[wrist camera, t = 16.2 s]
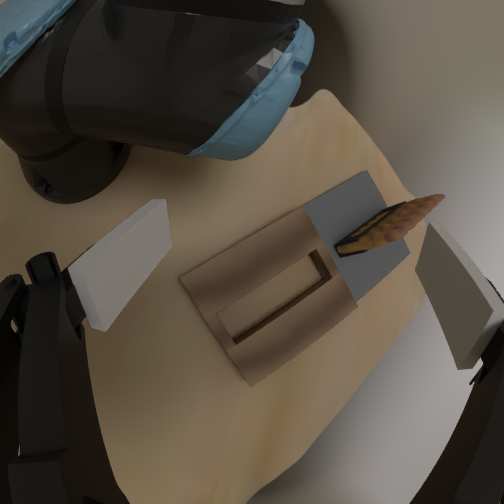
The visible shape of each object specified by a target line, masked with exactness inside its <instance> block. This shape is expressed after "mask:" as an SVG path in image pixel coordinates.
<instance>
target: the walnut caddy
mask: <svg viewBox="0 0 504 504" xmlns="http://www.w3.org/2000/svg"><path fill="white" fill-rule="evenodd" d="M307 254H309V255H310V257H311V259H312V261H313V262H314V264H315V266H316V268H317V269H318V271H319V273H320V275H321V277H322V278H323V279H321V280H320V281H319V282H317V283H316V284H315V285H313V286H312V287H310V288H309V289H308V290H306V291H305V292H303V293H302V294H301V295H299V296H298V297H296V298H295V299H293V300H292V301H291V302H289V303H288V304H286V305H285V306H283V307H282V308H281V309H279V310H278V311H276V312H275V313H273V314H272V315H270V316H269V317H267V318H266V319H264V320H263V321H261V322H260V323H258V324H257V325H255V326H254V327H252V328H251V329H249V330H248V331H246V332H245V333H243V334H242V335H240V336H239V337H237V338H235V339H234V340H232V338H231V337H230V335H229V334H228V332H227V331H226V329H225V328H224V326H223V324H222V323H221V321H220V320H219V318H218V317H217V315H216V313H218V312H219V311H221V310H222V309H224V308H226V307H227V306H229V305H230V304H232V303H233V302H235V301H237V300H238V299H240V298H241V297H243V296H244V295H246V294H248V293H249V292H251V291H252V290H254V289H255V288H257V287H259V286H260V285H262V284H263V283H265V282H266V281H268V280H269V279H271V278H272V277H274V276H275V275H277V274H279V273H280V272H282V271H283V270H285V269H286V268H288V267H289V266H291V265H292V264H294V263H295V262H297V261H298V260H300V259H301V258H303V257H304V256H306V255H307ZM180 280H181V282H182V284H183V285H184V287H185V289H186V290H187V292H188V294H189V295H190V297H191V299H192V300H193V302H194V303H195V305H196V307H197V308H198V310H199V311H200V313H201V315H202V316H203V318H204V319H205V321H206V323H207V324H208V326H209V327H210V329H211V330H212V332H213V333H214V335H215V336H216V338H217V339H218V341H219V343H220V344H221V346H222V347H223V349H224V350H225V352H226V353H227V354H228V356H229V357H230V359H231V360H232V362H233V363H234V365H235V366H236V368H237V369H238V371H239V372H240V373H241V375H242V376H243V378H244V379H245V380H246V382H247V383H248V384H249V386H250V387H251V386H253V385H254V384H256V383H257V382H259V381H260V380H262V379H263V378H265V377H266V376H268V375H269V374H271V373H272V372H274V371H275V370H277V369H278V368H279V367H281V366H282V365H284V364H285V363H286V362H288V361H289V360H291V359H292V358H293V357H295V356H296V355H298V354H299V353H300V352H302V351H303V350H304V349H306V348H307V347H308V346H310V345H311V344H312V343H314V342H315V341H316V340H317V339H319V338H320V337H321V336H323V335H324V334H325V333H326V332H328V331H329V330H330V329H331V328H333V327H334V326H335V325H336V324H338V323H339V322H340V321H341V320H343V319H344V318H345V317H346V316H347V315H349V314H350V313H351V312H352V311H353V310H355V309H356V308H357V307H358V306H357V304H356V302H355V300H354V298H353V296H352V294H351V292H350V290H349V288H348V286H347V284H346V282H345V281H344V279H343V277H342V275H341V273H340V271H339V269H338V267H337V266H336V264H335V262H334V260H333V258H332V256H331V255H330V253H329V251H328V249H327V247H326V246H325V244H324V242H323V240H322V239H321V237H320V235H319V233H318V231H317V230H316V228H315V226H314V225H313V223H312V221H311V219H310V218H309V216H308V214H307V213H306V211H305V209H304V207H303V206H302V207H300V208H298V209H297V210H295V211H293V212H291V213H290V214H288V215H286V216H284V217H283V218H281V219H279V220H277V221H276V222H274V223H272V224H271V225H269V226H267V227H265V228H264V229H262V230H260V231H259V232H257V233H255V234H253V235H252V236H250V237H248V238H247V239H245V240H243V241H241V242H240V243H238V244H236V245H235V246H233V247H231V248H229V249H228V250H226V251H224V252H223V253H221V254H219V255H218V256H216V257H214V258H213V259H211V260H209V261H207V262H206V263H204V264H202V265H201V266H199V267H197V268H196V269H194V270H192V271H191V272H189V273H187V274H186V275H184V276H182V277H181V278H180Z"/></svg>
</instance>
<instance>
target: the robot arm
mask: <svg viewBox="0 0 504 504" xmlns="http://www.w3.org/2000/svg"><path fill="white" fill-rule="evenodd" d="M304 2H305V0H6V1H5V2H3V3H2V4H1V5H0V138H1V139H2V140H3V141H4V142H5V143H6V144H7V145H8V146H9V147H10V148H11V149H12V150H13V151H15V152H16V153H17V155H18V158H19V162H20V165H21V168H22V171H23V173H24V176H25V178H26V180H27V182H28V184H29V185H30V186H31V187H32V189H33V190H34V191H36V192H37V193H38V194H40V195H41V196H42V197H44V198H45V199H47V200H49V201H52V202H55V203H62V204H68V203H76V202H80V201H83V200H85V199H88V198H90V197H92V196H94V195H96V194H97V193H99V192H100V191H102V190H103V189H104V188H105V187H107V186H108V185H109V184H110V183H111V182H112V181H113V180H114V179H115V178H116V176H117V175H118V174H119V172H120V171H121V169H122V168H123V166H124V165H125V163H126V161H127V158H128V156H129V153H130V150H131V145H132V144H134V145H139V146H145V147H150V148H156V149H161V150H166V151H171V152H176V153H181V154H183V155H184V156H187V157H188V156H190V157H194V156H197V155H198V156H204V157H210V158H216V159H221V160H227V161H231V160H238V159H242V158H245V157H247V156H249V155H250V154H252V153H253V152H255V151H256V150H257V149H258V148H259V147H260V146H261V145H262V144H263V143H264V142H265V141H266V140H267V139H268V137H269V136H270V135H271V134H272V132H273V131H274V129H275V128H276V127H277V125H278V124H279V122H280V121H281V119H282V117H283V116H284V114H285V113H286V111H287V109H288V107H289V106H290V104H291V102H292V100H293V99H294V97H295V95H296V93H297V91H298V89H299V86H300V83H301V80H300V76H301V74H303V72H304V71H305V69H306V67H307V66H308V64H309V61H310V59H311V55H312V52H313V46H314V34H313V32H312V30H311V28H310V27H309V26H308V25H306V23H305V22H304V21H303V20H301V19H297V17H298V15H299V12H300V10H301V8H302V6H303V4H304ZM171 248H172V244H171V236H170V229H169V221H168V213H167V204H166V199H152V200H151V201H149V202H148V203H147V204H145V205H144V206H143V207H141V208H140V209H139V210H137V211H136V212H135V213H133V214H132V215H131V216H129V217H128V218H127V219H125V220H124V221H123V222H122V223H120V224H119V225H118V226H117V227H115V228H114V229H113V230H112V231H110V232H109V233H108V234H107V235H105V236H104V237H103V238H102V239H101V240H99V241H98V242H97V243H96V244H94V245H92V246H91V247H89V248H88V249H87V250H86V251H85V253H82V254H81V255H80V256H79V258H77V259H75V260H74V261H73V262H72V263H71V264H70V265H69V266H68V267H66V268H65V269H64V270H63V271H62V272H61V271H60V268H59V265H58V262H57V259H56V256H55V254H54V253H53V252H44V253H40V254H38V255H36V256H34V257H32V258H31V259H30V260H29V261H28V262H27V263H26V265H25V267H26V269H27V272H28V274H29V277H30V279H31V282H32V284H30V285H26V284H25V282H24V280H23V277H22V275H20V274H14V275H9V277H8V276H7V277H6V278H5V279H4V280H3V281H2V282H1V283H0V504H130V503H129V501H128V499H127V498H126V496H125V495H124V494H123V492H122V491H121V490H120V488H119V487H118V485H117V483H116V480H115V477H114V475H113V472H112V468H111V465H110V462H109V459H108V456H107V452H106V449H105V445H104V441H103V438H102V434H101V430H100V426H99V421H98V417H97V412H96V408H95V403H94V398H93V392H92V386H91V380H90V374H89V367H88V360H87V351H86V342H85V331H84V327H83V325H82V323H81V322H82V321H83V319H84V318H85V317H87V319H88V322H89V324H90V326H91V328H94V329H97V330H100V331H104V332H106V331H107V330H108V329H109V327H110V326H111V325H112V323H113V322H114V321H115V319H116V318H117V317H118V315H119V314H120V313H121V311H122V310H123V309H124V307H125V306H126V305H127V303H128V302H129V301H130V299H131V298H132V297H133V296H134V294H135V293H136V292H137V290H138V289H139V288H140V287H141V285H142V284H143V283H144V281H145V280H146V279H147V278H148V276H149V275H150V274H151V273H152V271H153V270H154V269H155V268H156V267H157V265H158V264H159V263H160V262H161V260H162V259H163V258H164V257H165V256H166V254H167V253H168V252H169V251H170V250H171ZM415 271H416V273H417V275H418V277H419V279H420V281H421V283H422V285H423V287H424V289H425V292H426V294H427V296H428V298H429V300H430V302H431V304H432V307H433V309H434V311H435V313H436V316H437V318H438V320H439V323H440V325H441V327H442V329H443V332H444V335H445V337H446V340H447V342H448V345H449V347H450V350H451V352H452V355H453V358H454V361H455V364H456V366H457V369H458V370H462V369H471V368H473V367H474V366H475V364H476V363H477V361H478V360H479V358H480V357H481V359H482V361H483V366H482V367H481V368H480V370H479V371H478V372H477V374H476V375H475V376H474V378H473V379H472V380H471V382H470V383H469V385H471V384H472V383H473V382H475V383H474V385H473V388H472V391H471V393H470V396H469V398H468V401H467V404H466V406H465V408H464V410H463V413H462V415H461V417H460V419H459V422H458V423H457V425H456V428H455V430H454V432H453V434H452V436H451V438H450V440H449V441H448V443H447V445H446V447H445V449H444V451H443V452H442V454H441V456H440V458H439V459H438V461H437V463H436V465H435V466H434V468H433V470H432V471H431V473H430V474H429V476H428V477H427V479H426V481H425V482H424V484H423V485H422V487H421V488H420V490H419V491H418V492H417V494H416V495H415V497H414V498H413V500H412V501H411V502H410V504H499V502H500V504H504V300H503V298H501V296H500V294H499V292H497V291H496V288H495V287H494V285H493V284H492V283H491V282H490V281H489V280H488V279H487V278H486V277H485V276H484V275H483V274H482V272H481V271H480V270H479V268H478V267H477V266H476V264H475V263H474V262H473V261H472V259H471V258H470V257H469V255H468V254H467V253H466V252H465V251H464V249H463V248H462V247H461V246H460V245H459V243H458V242H457V241H456V240H455V239H454V237H453V236H452V235H451V234H450V233H449V232H448V231H447V230H446V228H445V227H444V226H443V225H442V224H439V223H433V222H429V223H428V227H427V231H426V235H425V238H424V242H423V245H422V249H421V252H420V256H419V259H418V262H417V265H416V268H415ZM11 320H13V321H14V323H15V325H16V327H17V328H18V329H17V331H16V333H15V332H14V331H13V329H12V328H11V326H10V325H11ZM19 444H20V455H19V457H18V451H19ZM500 500H501V501H500Z"/></svg>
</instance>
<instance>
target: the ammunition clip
mask: <svg viewBox="0 0 504 504" xmlns="http://www.w3.org/2000/svg"><path fill="white" fill-rule="evenodd" d="M444 198H445V195H443V194H435V195H431V196H428V197H424V198H418V199H414V200H412V201H409V202H406V201H404V202H402V203H399V204H396V205H393V206H391V207H388V208H385V209H383V210H381V211H380V212H379V213H377V214H376V215H374V216H373V217H372V218H370V219H369V220H368V221H366V222H365V223H364V224H362V225H361V226H359V227H358V228H357V229H355V230H354V231H353V232H351V233H350V234H348V235H347V236H346V237H344V238H343V239H341V240H340V241H339V242H337V243H336V244H334V248H335V250H336V251H337V253H338V255H339V257H340V258H342V257H347V256H351V255H356V254H361V253H365V252H366V251H367V250H369V249H372V248H376V247H381V246H383V245H385V244H387V243H390V242H393V241H396V240H399V239H401V238H402V237H404V236H405V235H406V234H407V233H408V232H407V231H409V230H411V229H412V228H414V227H415V226H416V224H417V223H418V222H420V221H421V220H422V219H423V218H424V217H425V215H427V214H428V213H429V212H431V210H432V209H433V208H434V207H436V206H437V205H438V203H439V202H440V201H441V200H443V199H444Z"/></svg>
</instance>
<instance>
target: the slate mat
mask: <svg viewBox="0 0 504 504" xmlns="http://www.w3.org/2000/svg"><path fill="white" fill-rule="evenodd" d="M303 207H304V209H305V211H306V213H307V214H308V216H309V218H310V219H311V221H312V223H313V225H314V226H315V228H316V230H317V231H318V233H319V235H320V237H321V239H322V240H323V242H324V244H325V246H326V247H327V249H328V251H329V253H330V255H331V256H332V258H333V260H334V262H335V264H336V266H337V267H338V269H339V271H340V273H341V275H342V277H343V279H344V281H345V282H346V284H347V286H348V288H349V290H350V292H351V294H352V296H353V298H354V300H355V302H357V301H358V300H359V299H360V298H361V297H363V296H364V295H365V294H366V293H367V292H368V291H370V290H371V289H372V288H373V287H374V286H375V285H376V284H377V283H379V282H380V281H381V280H382V279H383V278H384V277H385V276H386V275H387V274H389V273H390V272H391V271H392V270H393V269H394V268H395V267H396V266H397V265H398V264H399V263H400V262H401V261H402V260H404V259H405V258H406V257H407V256H408V255H409V254H410V252H409V249H408V247H407V245H406V243H405V241H404V239H403V237H402V238H401V239H399V240H396V241H393V242H390V243H387V244H385V245H383V246H381V247H376V248H372V249H369V250H367V251H366V252H365V253H361V254H356V255H351V256H347V257H342V258H340V257H339V255H338V253H337V251H336V250H335V248H334V244H336V243H337V242H339V241H340V240H341V239H343V238H344V237H346V236H347V235H348V234H350V233H351V232H353V231H354V230H355V229H357V228H358V227H359V226H361V225H362V224H364V223H365V222H366V221H368V220H369V219H370V218H372V217H373V216H374V215H376V214H377V213H379V212H380V211H381V210H383V209H385V208H388V207H387V205H386V203H385V201H384V199H383V197H382V196H381V194H380V192H379V190H378V188H377V187H376V185H375V183H374V181H373V180H372V178H371V176H370V175H369V173H368V171H367V170H366V171H364V172H362V173H360V174H359V175H357V176H355V177H353V178H351V179H350V180H348V181H346V182H344V183H343V184H341V185H339V186H337V187H336V188H334V189H332V190H330V191H329V192H327V193H325V194H323V195H322V196H320V197H318V198H316V199H315V200H313V201H311V202H309V203H308V204H306V205H304V206H303Z"/></svg>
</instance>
